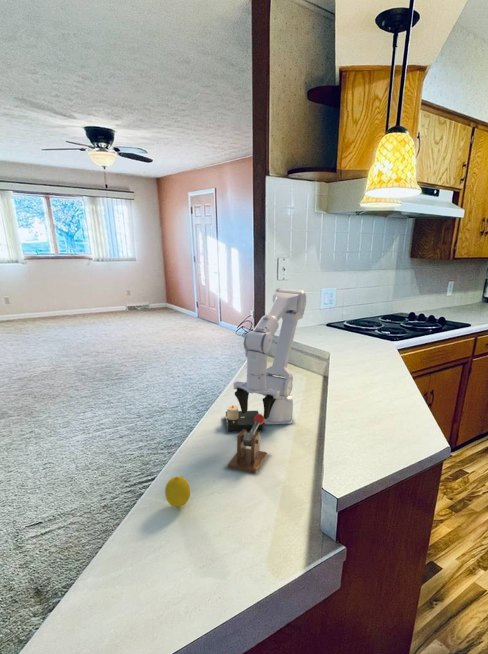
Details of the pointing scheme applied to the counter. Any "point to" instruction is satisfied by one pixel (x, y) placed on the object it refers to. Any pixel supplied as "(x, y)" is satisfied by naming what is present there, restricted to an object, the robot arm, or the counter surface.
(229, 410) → the dial
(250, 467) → the switch bracket
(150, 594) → the counter surface
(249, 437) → the lever
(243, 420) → the control panel
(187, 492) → the lemon
